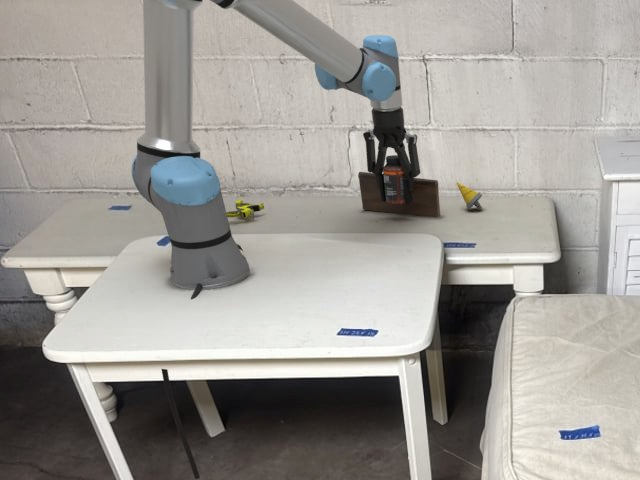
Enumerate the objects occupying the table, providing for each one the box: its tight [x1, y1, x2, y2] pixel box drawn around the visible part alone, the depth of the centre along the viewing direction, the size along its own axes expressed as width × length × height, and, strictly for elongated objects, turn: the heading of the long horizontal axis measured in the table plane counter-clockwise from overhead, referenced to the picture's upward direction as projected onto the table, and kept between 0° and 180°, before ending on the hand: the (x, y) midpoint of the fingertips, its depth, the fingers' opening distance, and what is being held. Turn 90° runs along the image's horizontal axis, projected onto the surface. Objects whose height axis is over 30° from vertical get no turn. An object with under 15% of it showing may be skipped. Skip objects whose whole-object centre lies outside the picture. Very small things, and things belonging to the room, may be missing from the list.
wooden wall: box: [357, 171, 441, 218], centre depth 193 cm, size 2×22×10 cm, turn 74°
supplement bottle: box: [382, 154, 406, 204], centre depth 185 cm, size 6×6×11 cm
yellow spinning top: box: [456, 182, 483, 210], centre depth 197 cm, size 5×5×10 cm
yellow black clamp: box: [226, 198, 265, 220], centre depth 190 cm, size 12×4×7 cm
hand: (397, 201), depth 188 cm, fingers closed on supplement bottle, 6 cm apart
